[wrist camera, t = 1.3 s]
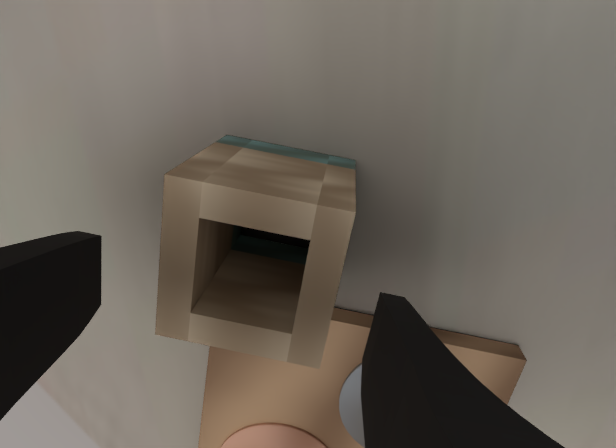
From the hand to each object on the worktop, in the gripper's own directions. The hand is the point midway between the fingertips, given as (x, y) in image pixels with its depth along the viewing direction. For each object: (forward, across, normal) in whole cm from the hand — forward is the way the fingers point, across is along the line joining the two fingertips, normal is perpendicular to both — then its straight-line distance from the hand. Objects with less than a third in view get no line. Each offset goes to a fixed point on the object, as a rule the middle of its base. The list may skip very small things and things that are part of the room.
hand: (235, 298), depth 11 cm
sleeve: (+7, 0, 0) cm, 7 cm away
